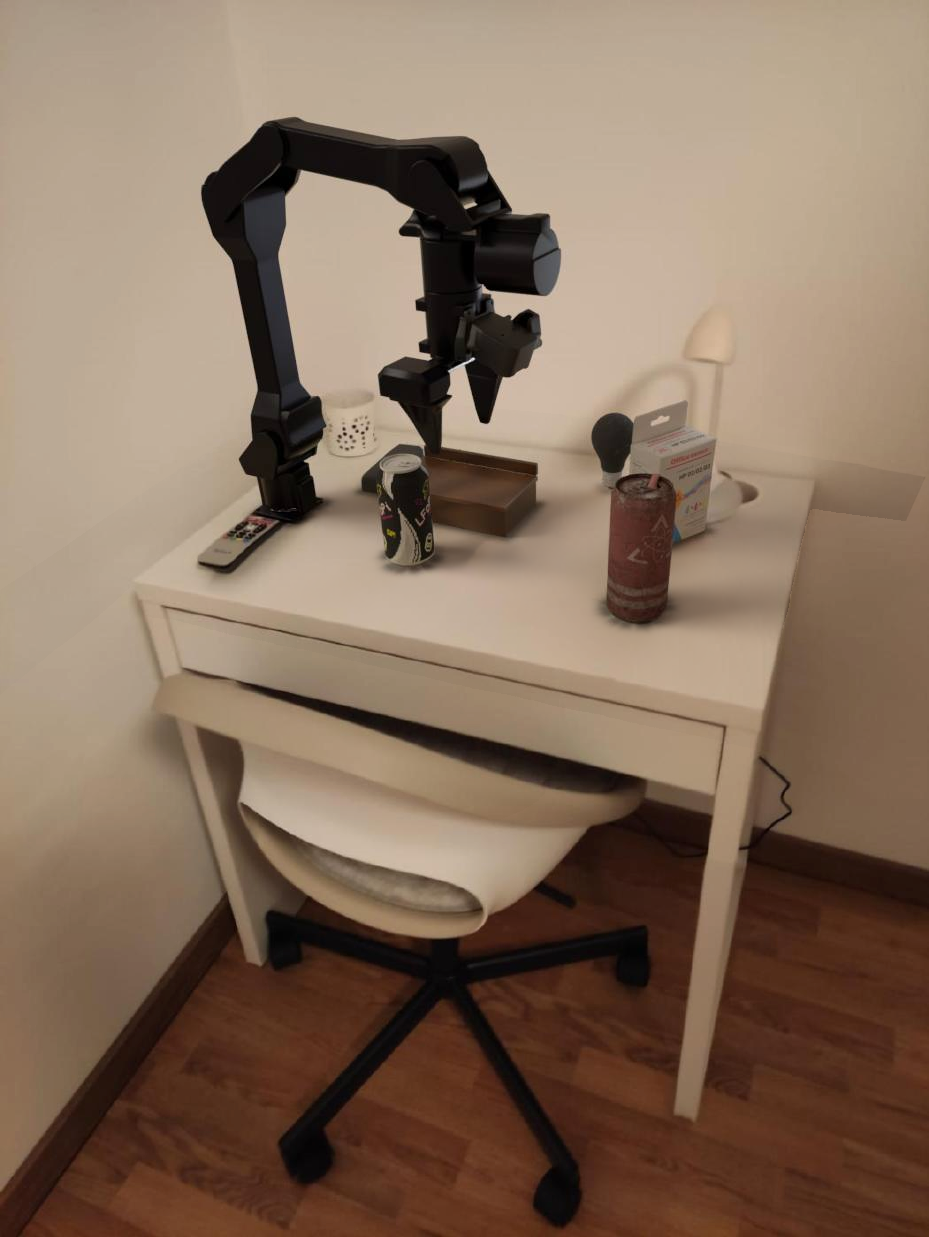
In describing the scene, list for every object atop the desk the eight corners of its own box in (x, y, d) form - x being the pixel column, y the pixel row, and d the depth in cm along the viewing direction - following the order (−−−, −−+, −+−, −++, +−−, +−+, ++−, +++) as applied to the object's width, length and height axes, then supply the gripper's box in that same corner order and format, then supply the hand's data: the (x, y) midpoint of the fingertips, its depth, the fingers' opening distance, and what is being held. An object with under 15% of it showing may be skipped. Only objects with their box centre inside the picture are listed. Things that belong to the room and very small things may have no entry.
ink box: (653, 553, 99) (663, 430, 91) (623, 537, 103) (630, 416, 95) (707, 530, 103) (721, 410, 95) (676, 515, 107) (687, 397, 98)
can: (673, 596, 92) (684, 474, 84) (657, 629, 87) (668, 503, 79) (616, 586, 94) (623, 465, 86) (598, 617, 90) (603, 493, 82)
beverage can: (420, 574, 99) (411, 476, 92) (376, 565, 101) (364, 468, 94) (443, 550, 103) (435, 454, 96) (400, 541, 105) (390, 448, 98)
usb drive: (361, 491, 117) (359, 472, 115) (400, 455, 126) (399, 437, 124) (397, 496, 115) (395, 477, 113) (434, 459, 124) (432, 441, 122)
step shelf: (389, 513, 111) (384, 473, 108) (427, 482, 118) (424, 443, 115) (506, 538, 104) (504, 496, 101) (539, 503, 111) (539, 463, 108)
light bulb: (640, 483, 114) (645, 409, 109) (622, 501, 110) (626, 425, 105) (601, 475, 117) (603, 403, 111) (582, 492, 113) (584, 418, 107)
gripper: (466, 322, 75) (474, 488, 84) (573, 272, 87) (570, 421, 96) (366, 307, 80) (383, 465, 89) (479, 262, 93) (485, 404, 102)
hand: (461, 438), depth 94 cm, fingers open, 9 cm apart
